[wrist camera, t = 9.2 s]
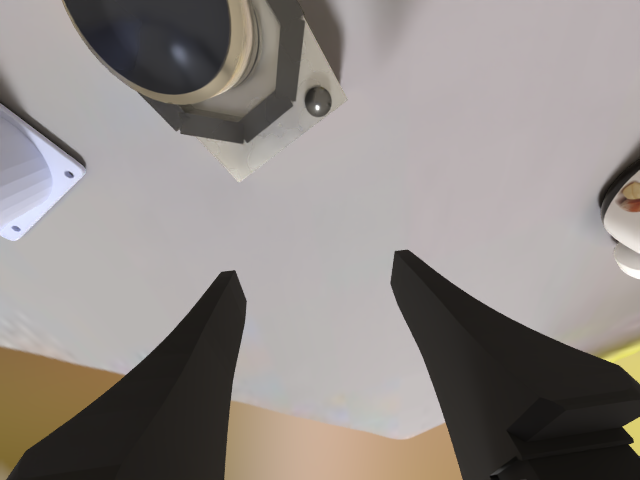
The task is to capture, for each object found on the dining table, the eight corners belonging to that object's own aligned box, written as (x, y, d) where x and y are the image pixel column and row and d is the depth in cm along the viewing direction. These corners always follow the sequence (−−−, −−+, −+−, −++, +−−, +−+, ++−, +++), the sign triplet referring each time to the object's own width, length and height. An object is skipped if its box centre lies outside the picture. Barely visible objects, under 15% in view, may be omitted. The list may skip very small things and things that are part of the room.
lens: (268, 87, 13) (253, 103, 8) (180, 90, 12) (102, 109, 7) (253, -38, 10) (215, -144, 5) (142, -38, 10) (-22, -150, 5)
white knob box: (246, 166, 18) (234, 192, 14) (86, -12, 12) (-2, -45, 8) (338, 94, 16) (353, 103, 12) (199, -163, 10) (148, -292, 6)
